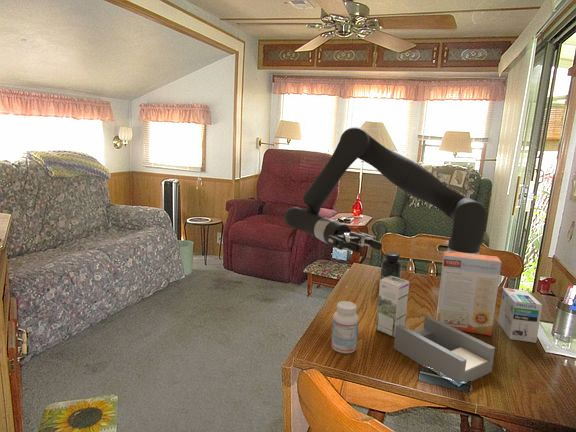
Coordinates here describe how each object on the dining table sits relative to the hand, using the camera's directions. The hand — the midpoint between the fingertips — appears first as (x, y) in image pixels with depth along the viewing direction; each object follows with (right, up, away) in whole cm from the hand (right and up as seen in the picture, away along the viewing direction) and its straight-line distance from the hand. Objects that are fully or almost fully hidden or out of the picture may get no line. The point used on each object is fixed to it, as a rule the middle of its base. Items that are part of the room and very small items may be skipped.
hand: (370, 248), depth 111 cm
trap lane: (+13, -25, -17) cm, 33 cm away
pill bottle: (-10, -23, -14) cm, 29 cm away
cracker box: (+25, -22, 0) cm, 34 cm away
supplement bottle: (+13, -16, +29) cm, 35 cm away
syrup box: (+4, -22, -4) cm, 23 cm away
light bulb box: (+40, -23, -2) cm, 46 cm away
